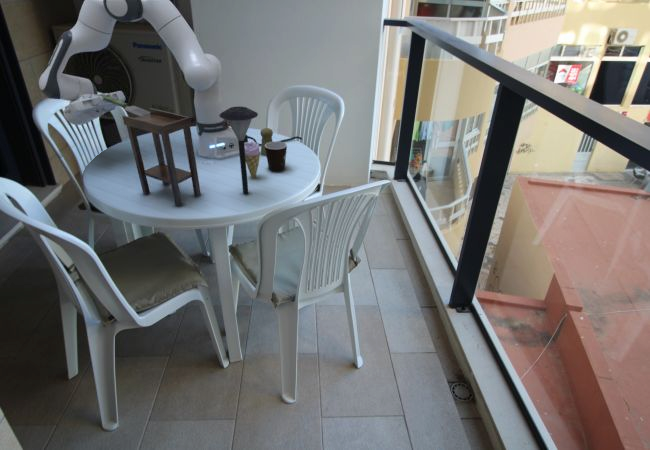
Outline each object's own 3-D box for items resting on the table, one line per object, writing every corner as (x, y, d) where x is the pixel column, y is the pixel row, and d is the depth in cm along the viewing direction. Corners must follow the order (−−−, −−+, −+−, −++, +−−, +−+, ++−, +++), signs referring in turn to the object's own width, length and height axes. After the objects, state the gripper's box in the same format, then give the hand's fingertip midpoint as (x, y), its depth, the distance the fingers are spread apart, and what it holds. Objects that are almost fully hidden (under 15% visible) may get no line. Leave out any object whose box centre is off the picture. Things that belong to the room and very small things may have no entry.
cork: (272, 156, 169) (271, 132, 163) (258, 155, 170) (257, 130, 164) (276, 151, 174) (275, 127, 168) (263, 150, 175) (262, 126, 169)
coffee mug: (278, 175, 153) (277, 151, 148) (261, 169, 157) (260, 146, 152) (296, 165, 162) (295, 142, 156) (279, 160, 165) (278, 137, 160)
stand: (141, 194, 137) (122, 116, 122) (166, 182, 145) (151, 107, 130) (178, 208, 130) (162, 126, 115) (202, 194, 138) (190, 117, 123)
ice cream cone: (246, 182, 147) (243, 144, 139) (241, 176, 152) (238, 138, 144) (263, 179, 150) (261, 141, 142) (258, 173, 154) (255, 136, 146)
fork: (97, 98, 141) (96, 95, 141) (106, 96, 144) (105, 93, 143) (143, 117, 133) (142, 114, 132) (151, 114, 136) (151, 111, 135)
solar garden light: (247, 182, 147) (240, 101, 131) (270, 193, 140) (265, 109, 124) (221, 193, 139) (210, 109, 123) (243, 205, 132) (235, 117, 116)
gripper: (58, 105, 141) (74, 94, 132) (109, 92, 156) (127, 82, 147) (67, 122, 143) (84, 112, 134) (117, 108, 158) (135, 99, 149)
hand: (107, 97), depth 141 cm, fingers closed on fork
